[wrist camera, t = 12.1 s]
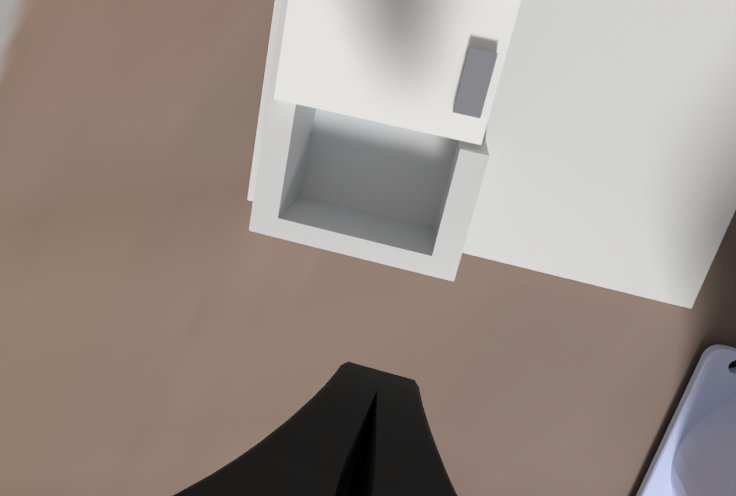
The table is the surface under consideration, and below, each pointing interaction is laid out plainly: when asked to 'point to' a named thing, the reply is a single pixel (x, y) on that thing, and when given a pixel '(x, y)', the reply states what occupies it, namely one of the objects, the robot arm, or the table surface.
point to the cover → (398, 61)
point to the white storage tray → (533, 156)
